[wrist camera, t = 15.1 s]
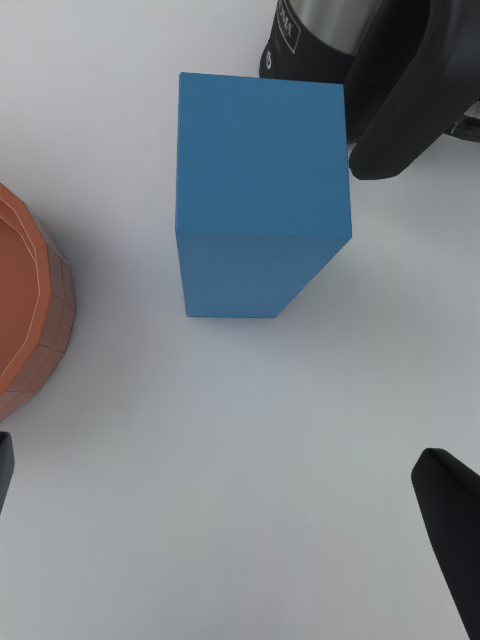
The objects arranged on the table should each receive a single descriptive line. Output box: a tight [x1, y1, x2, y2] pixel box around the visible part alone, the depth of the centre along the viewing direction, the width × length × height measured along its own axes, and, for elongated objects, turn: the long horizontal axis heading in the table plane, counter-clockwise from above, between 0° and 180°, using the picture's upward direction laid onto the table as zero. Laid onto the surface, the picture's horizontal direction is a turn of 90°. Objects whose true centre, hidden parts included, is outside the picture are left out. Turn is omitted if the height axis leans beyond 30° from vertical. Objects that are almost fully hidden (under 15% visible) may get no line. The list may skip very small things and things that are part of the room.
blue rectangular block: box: [175, 72, 352, 318], centre depth 18 cm, size 5×5×12 cm
